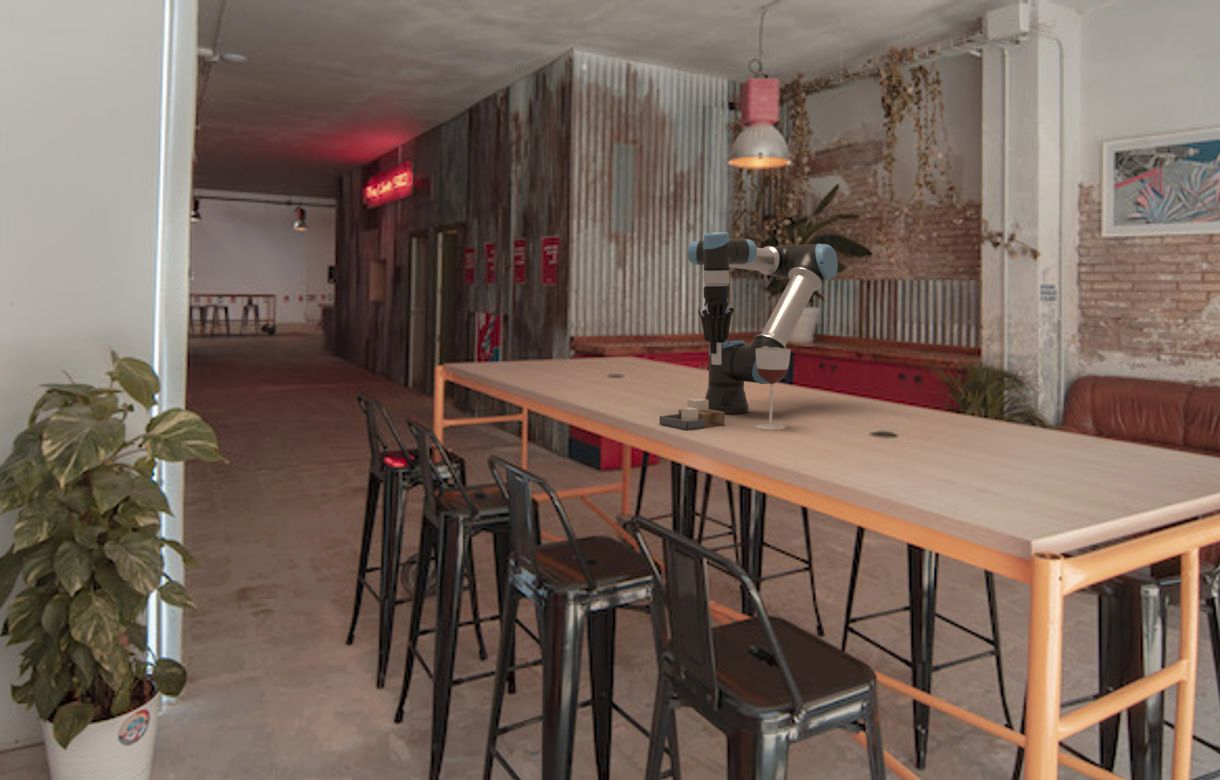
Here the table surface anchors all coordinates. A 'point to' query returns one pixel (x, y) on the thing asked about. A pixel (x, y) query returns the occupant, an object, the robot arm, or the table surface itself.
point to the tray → (681, 422)
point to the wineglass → (772, 373)
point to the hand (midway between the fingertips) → (716, 364)
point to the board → (710, 417)
